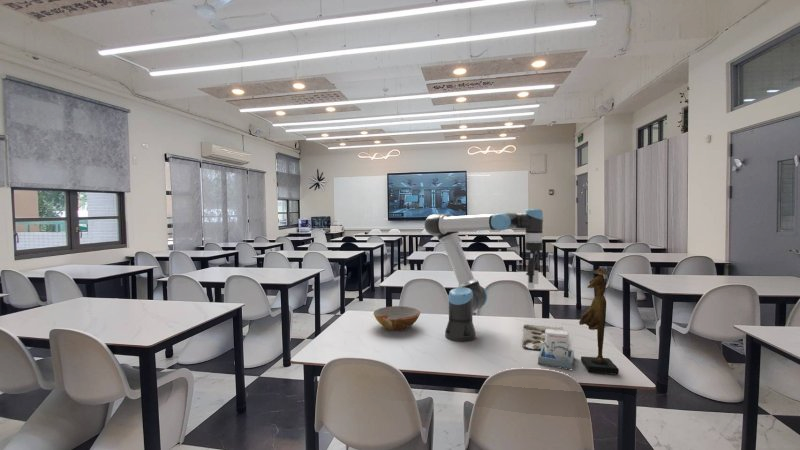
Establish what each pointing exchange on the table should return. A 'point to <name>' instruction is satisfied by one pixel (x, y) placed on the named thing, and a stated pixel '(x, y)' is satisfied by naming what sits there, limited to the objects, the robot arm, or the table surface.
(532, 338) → the stone relief
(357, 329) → the table surface
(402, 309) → the bowl
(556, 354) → the ink box
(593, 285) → the sculpture
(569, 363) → the tray
